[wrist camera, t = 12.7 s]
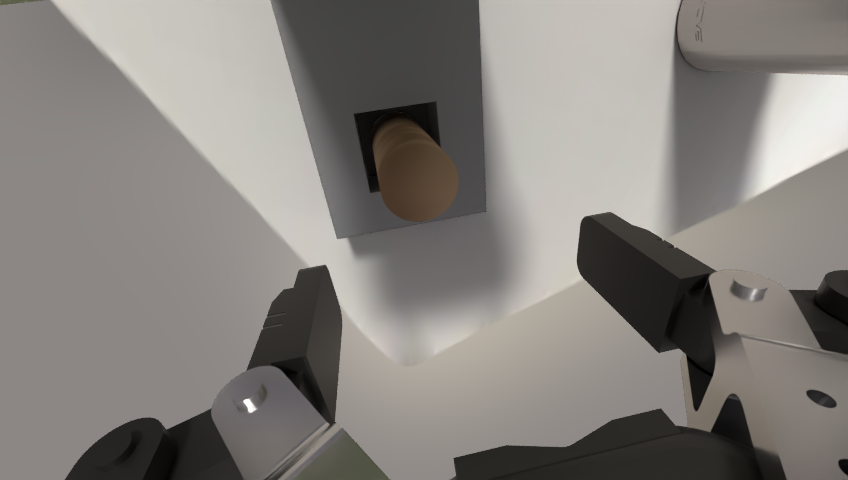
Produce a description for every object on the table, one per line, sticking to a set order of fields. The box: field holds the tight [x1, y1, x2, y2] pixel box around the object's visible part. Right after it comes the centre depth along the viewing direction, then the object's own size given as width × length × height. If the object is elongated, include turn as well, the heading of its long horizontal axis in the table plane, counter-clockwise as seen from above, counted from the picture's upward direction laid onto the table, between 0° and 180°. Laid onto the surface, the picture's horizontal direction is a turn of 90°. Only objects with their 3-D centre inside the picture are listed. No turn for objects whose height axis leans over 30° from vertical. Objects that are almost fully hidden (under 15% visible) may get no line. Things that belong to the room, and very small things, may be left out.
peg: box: [371, 112, 459, 222], centre depth 22 cm, size 4×4×12 cm
